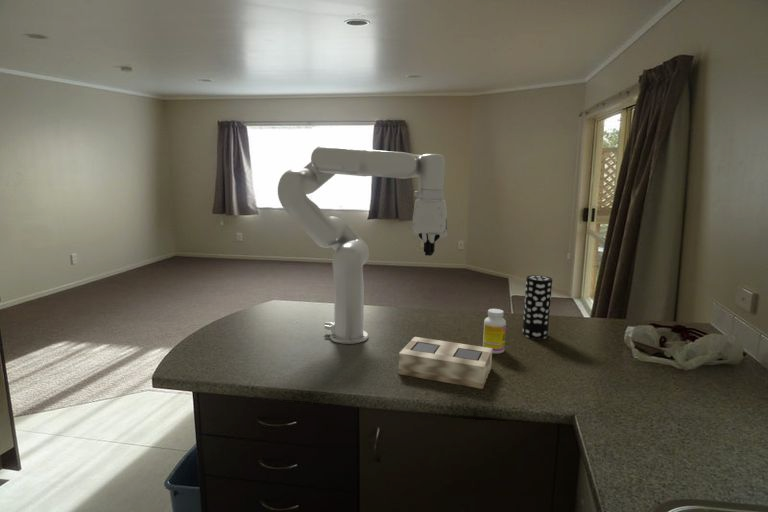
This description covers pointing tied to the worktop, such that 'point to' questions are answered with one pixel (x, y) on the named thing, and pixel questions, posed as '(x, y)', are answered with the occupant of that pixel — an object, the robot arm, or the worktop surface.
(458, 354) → the cap
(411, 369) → the switch box
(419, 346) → the cap
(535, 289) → the white-spotted black cylinder
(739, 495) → the worktop surface
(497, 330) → the supplement bottle
